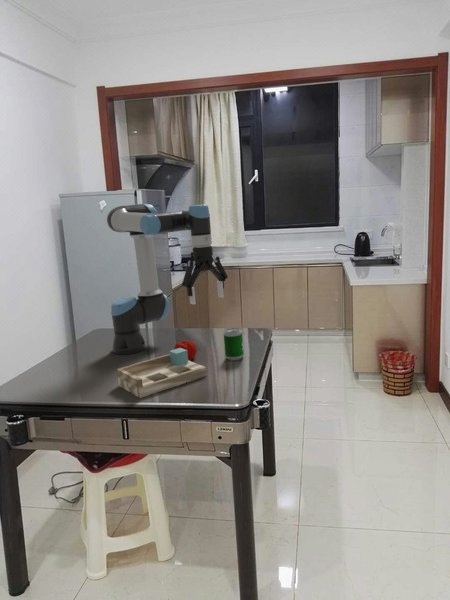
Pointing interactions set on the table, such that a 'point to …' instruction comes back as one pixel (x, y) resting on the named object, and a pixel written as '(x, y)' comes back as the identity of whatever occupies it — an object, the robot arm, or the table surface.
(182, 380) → the board
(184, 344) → the tomato
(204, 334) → the table surface
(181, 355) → the teal block
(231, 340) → the soda can
